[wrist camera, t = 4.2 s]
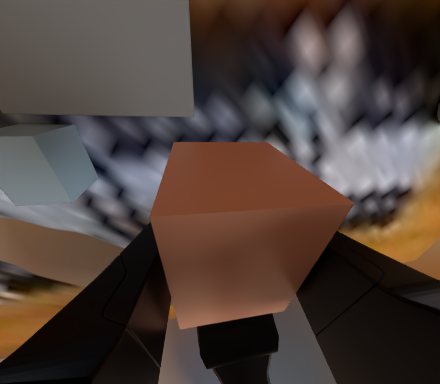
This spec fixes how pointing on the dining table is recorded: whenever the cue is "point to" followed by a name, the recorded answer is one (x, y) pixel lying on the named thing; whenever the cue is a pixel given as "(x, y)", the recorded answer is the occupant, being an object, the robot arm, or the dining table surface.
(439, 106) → the water bottle
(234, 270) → the terracotta brick
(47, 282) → the dining table surface
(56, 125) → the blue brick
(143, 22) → the base plate
